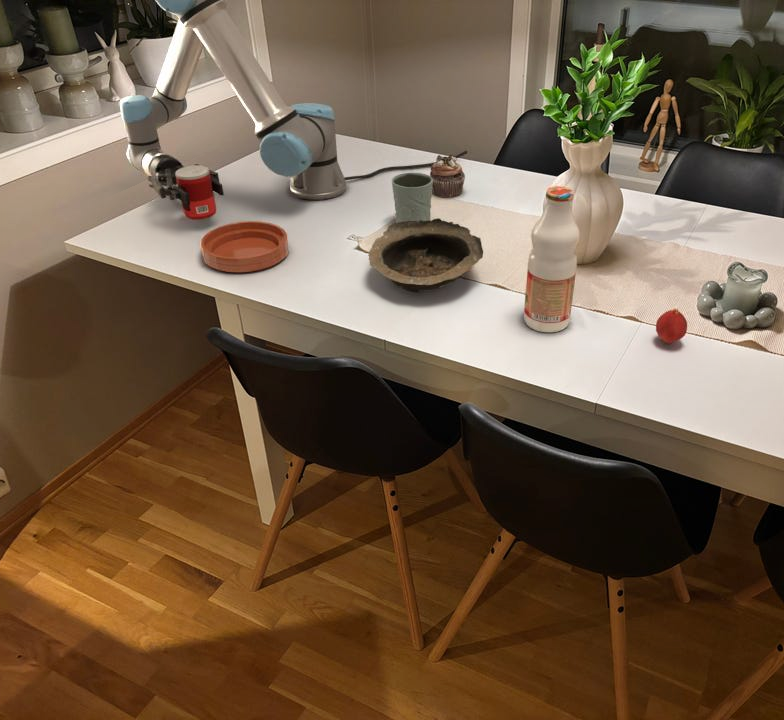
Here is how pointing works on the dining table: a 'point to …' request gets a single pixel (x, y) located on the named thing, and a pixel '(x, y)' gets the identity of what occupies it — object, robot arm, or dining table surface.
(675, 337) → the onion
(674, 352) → the dining table surface
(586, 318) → the dining table surface
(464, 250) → the stone bowl
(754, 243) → the dining table surface
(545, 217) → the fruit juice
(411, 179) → the green embossed cup
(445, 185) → the cupcake
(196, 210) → the canned food
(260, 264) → the bowl
